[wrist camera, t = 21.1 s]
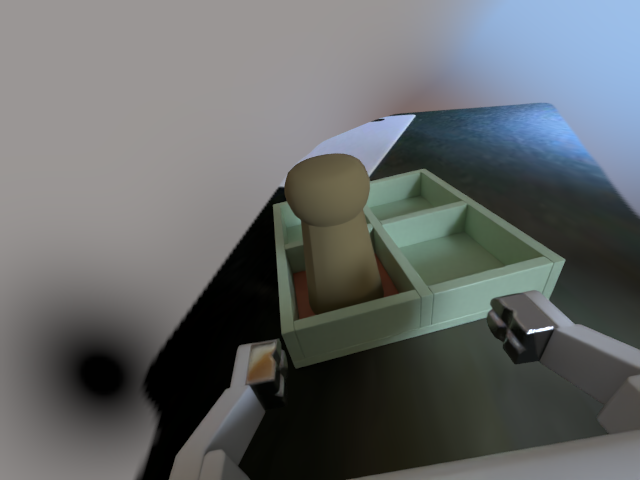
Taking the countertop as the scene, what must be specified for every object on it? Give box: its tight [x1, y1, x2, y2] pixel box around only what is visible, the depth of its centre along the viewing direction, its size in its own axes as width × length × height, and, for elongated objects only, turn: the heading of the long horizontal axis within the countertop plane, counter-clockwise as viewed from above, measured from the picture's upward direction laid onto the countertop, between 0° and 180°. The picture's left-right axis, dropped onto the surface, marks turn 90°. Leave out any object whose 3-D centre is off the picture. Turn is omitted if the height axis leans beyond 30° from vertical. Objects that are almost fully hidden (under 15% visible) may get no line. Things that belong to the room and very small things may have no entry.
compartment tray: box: [273, 169, 565, 369], centre depth 26 cm, size 18×18×4 cm
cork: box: [285, 154, 384, 315], centre depth 19 cm, size 6×6×11 cm
